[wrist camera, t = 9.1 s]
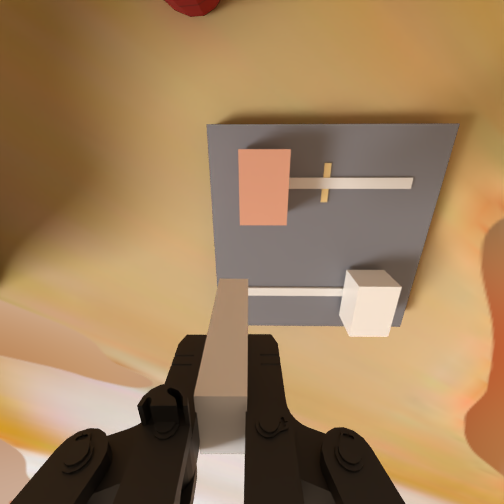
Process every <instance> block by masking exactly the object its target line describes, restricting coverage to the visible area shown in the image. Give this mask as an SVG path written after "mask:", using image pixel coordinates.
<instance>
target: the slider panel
mask: <svg viewBox="0 0 504 504" xmlns="http://www.w3.org/2000/svg"><path fill="white" fill-rule="evenodd" d="M458 128H459V124H207V137H208V153H209V168H210V183H211V198H212V213H213V228H214V243H215V258H216V273H217V288H218V284H219V279H248V325H273V326H344V324H343V322H342V320H341V318H340V316H339V312H340V306H341V300H342V294H343V288H344V282H345V276H346V270H385V271H386V272H387V273H388V274H389V275H390V276H391V277H392V278H393V279H394V280H395V281H396V282H397V283H398V284H399V285H400V286H401V287H402V288H401V292H400V295H399V299H398V303H397V306H396V310H395V314H394V317H393V321H392V324H391V327H400V325H401V322H402V318H403V315H404V311H405V308H406V305H407V301H408V298H409V294H410V291H411V288H412V284H413V281H414V277H415V274H416V271H417V267H418V264H419V260H420V257H421V254H422V250H423V247H424V243H425V240H426V237H427V233H428V230H429V226H430V223H431V220H432V216H433V213H434V209H435V206H436V203H437V199H438V196H439V192H440V189H441V186H442V182H443V179H444V175H445V172H446V169H447V165H448V162H449V158H450V155H451V152H452V148H453V145H454V141H455V138H456V135H457V131H458ZM238 149H291V156H290V174H289V192H288V210H287V225H240V210H239V164H238Z"/></svg>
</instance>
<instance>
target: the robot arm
mask: <svg viewBox="0 0 504 504" xmlns="http://www.w3.org/2000/svg"><path fill="white" fill-rule="evenodd" d="M137 407H138V411H139V415H140V418H141V423H140V424H138V425H136V426H134V427H132V428H130V429H127V430H124V431H121V432H118V433H114V434H111V435H108V436H106V433H105V432H103V431H102V430H100V429H94V428H89V429H86V430H83V431H79V432H77V433H76V434H74V435H73V436H71V437H69V438H68V439H66V440H65V441H64V442H63V443H62V444H61V445H60V446H59V447H58V448H57V449H56V450H55V451H54V453H53V454H52V455H51V456H50V457H49V458H48V460H47V461H46V462H45V463H44V464H43V466H42V467H41V468H40V469H39V470H38V471H37V473H36V474H35V475H34V476H33V477H32V478H31V480H30V481H29V482H28V483H27V484H26V486H25V487H24V488H23V489H22V491H20V493H19V494H18V495H17V496H16V497H15V498H14V500H13V501H12V502H11V503H10V504H193V500H194V493H195V487H196V480H197V465H196V464H197V457H198V451H199V449H200V454H245V477H244V504H405V502H404V501H403V499H402V497H401V496H400V494H399V492H398V491H397V489H396V488H395V486H394V484H393V483H392V481H391V479H390V478H389V476H388V475H387V473H386V471H385V470H384V468H383V466H382V465H381V463H380V462H379V460H378V458H377V457H376V455H375V453H374V452H373V450H372V448H371V447H370V446H369V445H368V443H367V442H366V441H365V440H364V438H363V437H361V436H360V435H359V434H357V433H356V432H354V431H353V430H350V429H347V428H344V427H341V428H333V429H331V430H330V431H328V432H327V433H326V434H325V433H322V432H319V431H317V430H314V429H311V428H308V427H306V426H304V425H302V424H301V423H300V422H298V421H297V420H296V419H295V418H294V417H293V416H292V415H291V413H290V411H289V409H288V407H287V404H286V399H285V392H284V385H283V378H282V371H281V365H280V357H279V350H278V343H277V342H276V341H275V339H274V338H273V336H272V335H271V334H248V279H219V284H218V288H217V293H216V297H215V302H214V306H213V311H212V315H211V320H210V324H209V329H208V333H207V335H186V336H185V338H184V339H183V340H182V341H181V342H180V343H179V345H178V348H177V350H176V353H175V357H174V359H173V362H172V366H171V367H170V370H169V373H168V376H167V379H166V382H165V384H163V385H159V386H157V387H155V388H153V389H151V390H150V391H149V392H148V393H147V394H145V395H144V396H143V397H142V399H141V401H140V402H139V404H138V405H137Z"/></svg>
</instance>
